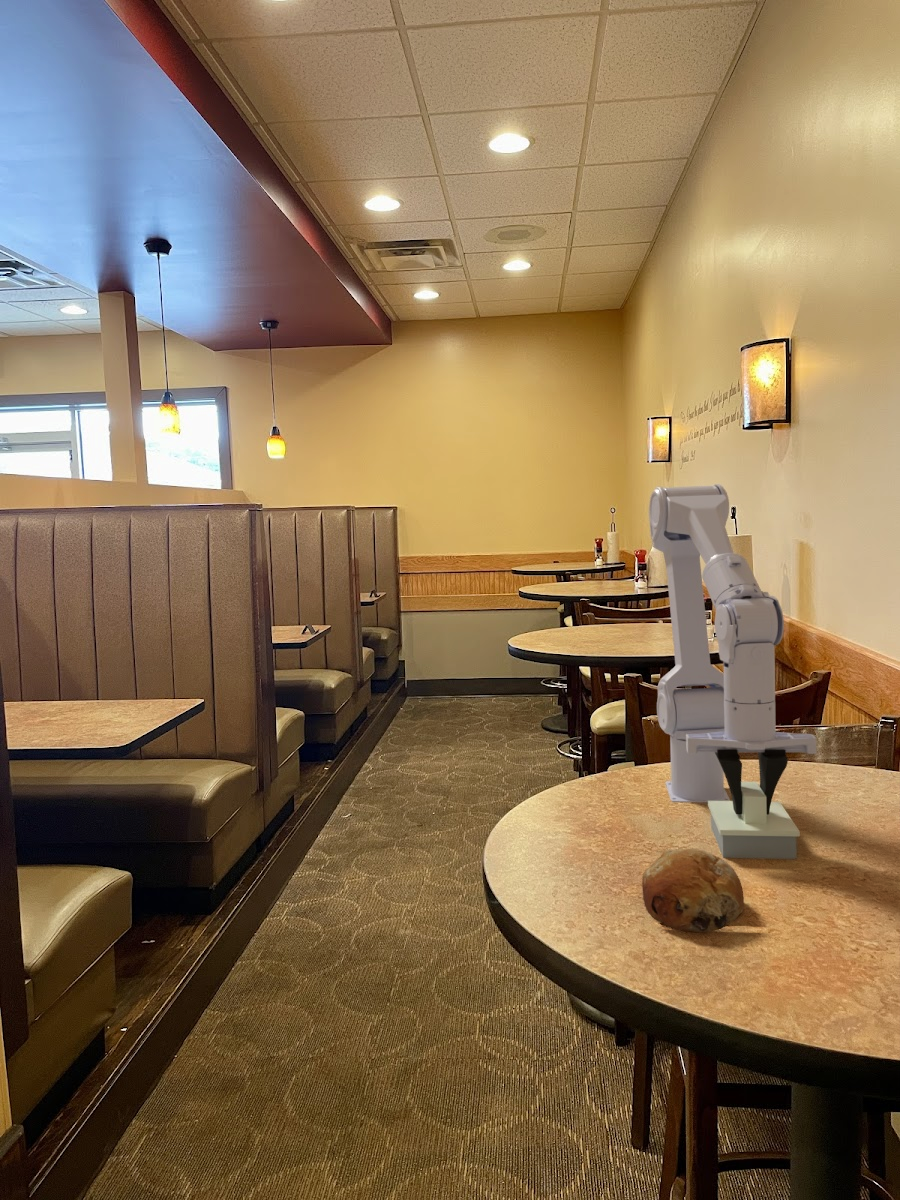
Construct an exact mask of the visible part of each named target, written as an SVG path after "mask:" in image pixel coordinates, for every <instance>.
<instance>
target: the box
mask: <svg viewBox="0 0 900 1200" xmlns="http://www.w3.org/2000/svg"><path fill="white" fill-rule="evenodd" d="M710 828H711V831H712V833H713V836H714V838H715V840H716V843H717V845H718V846H717V847H718V848H719V851H720V853H721V856H722V859H723V858H724V859H727V858H729V859H763V860H764V859H765V860H766V859H767V860H768V859H769V860H771V859H774V860H776V859H777V860H782V859H783V860H797V859H798V857H797V855H798V853H797V836H741V835H720V833H719V831H718V828H717V826H716V823H715V821H714V819H713V816H712V814H711V813H710Z"/></svg>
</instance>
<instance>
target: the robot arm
mask: <svg viewBox="0 0 900 1200" xmlns="http://www.w3.org/2000/svg"><path fill="white" fill-rule="evenodd" d="M729 514H730V500H729V495H728V492H727V491H726V489H725V488H724V487H723V486H722V484H719V483H718V484H714V485H699V486H677V487H676V486H675V487H674V486H673V487H672V486H671V487H663V486H657V487H655V488H654V490H653V491H652V493H651V494H650V498H649V506H648V519H649V520H648V521H649V529H650V530H649V531H650V539H651V541H652V547H653V548H654V549H656V550H658V551H660V552H661V553H663V558H664V563H665V569H666V578H667V590H668V599H669V609H670V610H669V611H670V621H671V632H672V643H673V652H674V653H673V654H674V664H675V666H674V667H673V668H671V669H670V671H668V672H667V673H666V674H665V675H663V676H662V677H661V678H660V680H659V682H658V685H657V701H656V715H657V721H658V724H659V727H660V728H661V730H662V731H663V732H664V733H665V734H667V735H669V739H670V740H669V744H670V750H669V751H670V780H667V781H665V787H666V790H667V792H668V796H669V799H670V802H672V803H708V801H733V809H734V811H735V813H736V814H742V794H741V781H742V771H743V770H742V769H743V763H742V761H741V757H740V754H739V753H757V755H758V756H757V757H758V767H759V786H760V788H761V789H762V791H763V792H764V794H765V795H766V806H767V815H769V811H770V805H771V801H773V797H774V796H773V795H774V794H775V790H776V787H777V786H778V783H779V781H780V779H781V777H782V775H783V773H784V772H785V769H786V768H787V765H788V762H789V758H788V756H787V754H786V753H806V754H807V755H816V754H818V752H817V747H818V746H817V737H816V736H815V735H814V734H813V733H794V732H783V731H782V732H779V731H777V730H776V668H775V667H776V663H775V662H776V658H775V657H776V656H775V652H776V651H775V648H776V647H775V646H777V645H779V644H780V643H781V641H782V639H783V636H784V635H783V634H784V629H785V624H784V623H785V620H784V614H783V610H782V606H781V605H780V601H779V599H778V598H777V597H776V596H774V595H770V594H769V592H768V591H763V590H762V589H761V588H760V585H759V583H758V581H757V579H756V576H755V575H754V573H753V571H752V569H751V567H750V566H751V565H750V564H749V563H748V561H747V559H746V558H745V557H744V556H743V555H741V554H738V553H734V550H733V547H732V544H731V542H730V538H729V534H728V532H727V528H726V524H727V521H728V518H729ZM701 558H702V560H703V562H704V563H705V564H704V565H705V566H704V567H703V569H702V568H701V567H702V566H701ZM703 583H704V585H705V587H706V589H707V593H708V595H709V598H710V599H711V602H712V604H713V607H714V610H715V613H714V614H715V616H714V629H715V637H716V640H717V643H718V655H719V660H720V661H721V662H722V663H723V672H721V670H719V669H717V668H716V667H714V666H713V665H712V664H711V657H710V648H709V647H710V646H709V635H708V627H707V618H706V616H707V615H706V607H705V596H704V586H703ZM693 686H694V687H695V686H697V687H698V686H707V687H704V688H684V689H677V687H693ZM724 776H725V779H726V782H727V784H728V789H729V791H730V796H731V799H730V796H729V795H728V793H727V791H726V789H725V785H724V783H725V781H724V780H725V779H724Z"/></svg>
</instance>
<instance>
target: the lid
mask: <svg viewBox="0 0 900 1200" xmlns="http://www.w3.org/2000/svg"><path fill="white" fill-rule="evenodd" d="M741 794H742V814H736V813H735V811H734V809H733V801H732V800H730V801H708V802H707V807H708V809H709V812H710V815H711V814H712V816H713V819H714V821H715V823H716V826H717V828H718V831H719V833H720V835H741V836H796V837H800V836H801V834H800V833H801V832H800V830H799V828H798V827H797V825H796V824H795V822H794V821H793V819H792V818H791V817H790V814H789V813H788V812H787V811H786V809H785V807H784V806H783V805H782V803H781V802H780V801H778V800H777V801H773V800H772V801H771V805H770V811H769V815H767V806H766V795H765V794H764V792H763V791H762V789H761V788H760V784H758V782H757V781H742V780H741Z"/></svg>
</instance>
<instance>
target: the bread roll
mask: <svg viewBox="0 0 900 1200" xmlns="http://www.w3.org/2000/svg"><path fill="white" fill-rule="evenodd" d="M641 879H642V880H641V882H642V883H641V885H642V900H643V904H644V907H645V909H646V911H647V913H648V914H649V915H650V916H651V917H652V918H654V919H656V920H657V921H660V922H658V924H660V925H661V926H664V927H667V928H669V929H673V930H677V931H685V932H696V933H702V932H705V933H706V932H707V933H709V932H715V931H718V930H719V929H720V930H722V929H724V928H726V927H728V926H730V925H729V924H726V923H728V922H734V921H735V920H736V919H737V918H738V917H739V915H741V914H742V913H743V911H744V904H745V901H744V899H745V897H744V890H743V889H744V888H743V886H742V883H741V879H740V878H739V876H738V874H737V873H736V871H735V869H734V868H733V867H732V866H731V865H730V864H729V863H728V862H727V861H725V860H723V858H721V857H720V856H718V855H715V854H712V853H710V852H707V851H705V850H702V849H697V848H678V849H676V848H675V849H667V850H664V851H663V852H662V853H661V855H660V856H659V857H658V858H656V859H655V860H654V862H652V863H651V865H649V867H647V868H646V869H645V870H644V872H643V874H642V878H641ZM720 930H719V931H720Z"/></svg>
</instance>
